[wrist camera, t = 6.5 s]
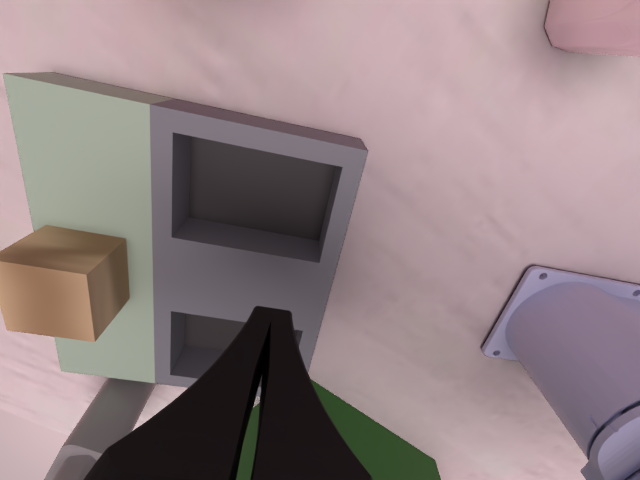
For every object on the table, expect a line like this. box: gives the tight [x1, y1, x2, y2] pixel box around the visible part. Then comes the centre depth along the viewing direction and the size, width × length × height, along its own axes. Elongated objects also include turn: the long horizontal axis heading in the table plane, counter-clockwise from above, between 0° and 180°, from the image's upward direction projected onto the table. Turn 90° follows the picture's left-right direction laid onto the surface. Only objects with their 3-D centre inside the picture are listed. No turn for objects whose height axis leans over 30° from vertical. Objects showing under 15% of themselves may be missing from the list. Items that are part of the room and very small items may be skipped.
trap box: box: [3, 72, 368, 397], centre depth 20 cm, size 16×18×3 cm
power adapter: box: [44, 377, 156, 480], centre depth 21 cm, size 3×5×12 cm, turn 146°
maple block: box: [0, 225, 130, 342], centre depth 17 cm, size 4×4×4 cm
